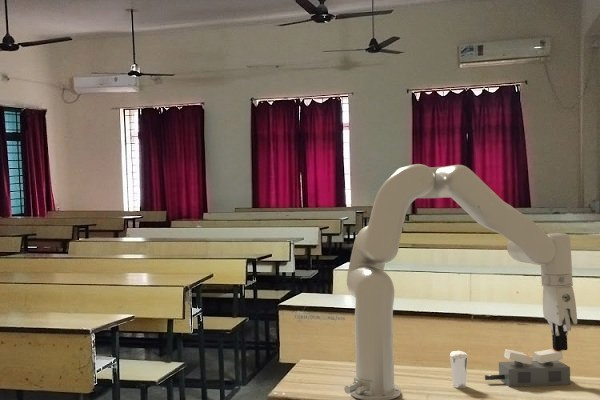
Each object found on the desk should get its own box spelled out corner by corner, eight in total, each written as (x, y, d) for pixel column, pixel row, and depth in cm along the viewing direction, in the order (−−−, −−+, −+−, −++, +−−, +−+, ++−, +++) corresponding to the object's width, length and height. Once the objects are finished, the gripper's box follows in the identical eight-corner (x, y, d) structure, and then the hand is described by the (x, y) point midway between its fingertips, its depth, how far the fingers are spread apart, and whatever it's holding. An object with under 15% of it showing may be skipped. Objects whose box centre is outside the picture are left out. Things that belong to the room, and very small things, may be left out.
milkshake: (472, 389, 152) (471, 350, 152) (450, 388, 153) (449, 349, 153) (471, 384, 157) (470, 346, 157) (450, 383, 158) (449, 345, 158)
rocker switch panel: (490, 387, 153) (490, 367, 153) (481, 379, 161) (480, 359, 161) (570, 384, 154) (570, 364, 154) (557, 376, 161) (557, 356, 161)
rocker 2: (540, 363, 156) (539, 355, 156) (534, 359, 159) (533, 352, 159) (563, 359, 156) (562, 351, 156) (556, 355, 160) (555, 348, 160)
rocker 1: (509, 359, 156) (510, 352, 156) (503, 356, 159) (505, 348, 159) (531, 364, 156) (532, 356, 156) (525, 360, 159) (527, 353, 159)
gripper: (585, 283, 151) (588, 356, 151) (557, 275, 165) (560, 342, 166) (556, 285, 150) (559, 358, 150) (530, 277, 165) (534, 343, 165)
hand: (560, 349), depth 158 cm, fingers closed
